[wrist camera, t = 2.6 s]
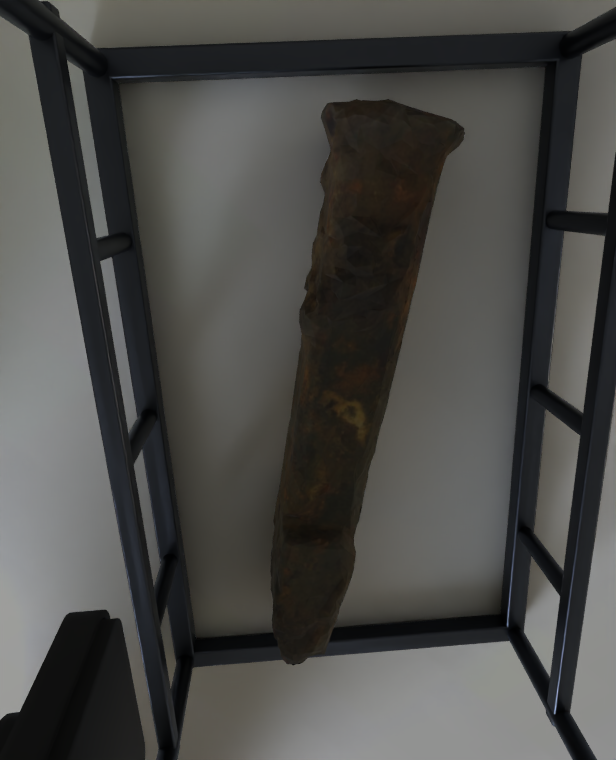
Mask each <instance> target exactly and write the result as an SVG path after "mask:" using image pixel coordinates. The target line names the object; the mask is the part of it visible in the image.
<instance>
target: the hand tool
mask: <svg viewBox="0 0 616 760" xmlns="http://www.w3.org/2000/svg"><path fill="white" fill-rule="evenodd" d="M321 119H322V122H323V125H324V128H325V131H326V134H327V138H328V141H329V144H330V148H331V152H330V155H329V157H328V159H327V161H326V163H325V166H324V168H323V171H322V173H321V181H320V183H321V185H322V187H323V190H324V192H325V197H324V203H323V207H322V209H321V212H320V218H319V223H318V229H317V236H316V238H315V240H314V242H313V249H312V268H311V270H310V272H309V274H308V275H307V278H306V283H305V287H304V289H306V290H307V291H308V292H307V294H306V297H305V300H304V302H303V304H302V306H301V308H300V311H299V323H300V328H301V333H302V335H301V349H300V353H299V360H298V368H297V374H296V381H295V389H294V396H293V403H292V410H291V418H290V422H289V427H288V433H287V440H286V446H285V453H284V461H283V467H282V474H281V483H280V489H279V492H278V496H277V502H276V508H275V515H274V526H275V527H274V535H273V547H272V552H271V577H272V578H271V591H272V597H273V615H272V626H273V633H274V637H275V639H276V640H277V642H278V648H279V649H280V654H281V657H282V659H283V660H284V661H285V662H286V664H292V665H295V664H301V663H302V662H304V661H305V660H306V659H307V658H309V657H310V656H313V655H317V654H323V655H324V654H325V651H326V648H327V645H328V642H329V639H330V636H331V633H332V630H333V628H334V625H335V623H336V620H337V617H338V614H339V608H340V606H341V603H342V601H343V599H344V596H345V594H346V591H347V589H348V586H349V583H350V580H351V578H352V574H353V570H354V563H355V555H356V551H355V547H354V534H355V531H356V527H357V524H358V522H359V518H360V513H361V508H362V502H363V497H364V492H365V488H366V483H367V479H368V471H369V467H370V464H371V461H372V459H373V456H374V453H375V449H376V444H377V439H378V435H379V430H380V426H381V423H382V421H383V418H384V414H385V410H386V407H387V403H388V398H389V394H390V389H391V385H392V381H393V377H394V373H395V368H396V364H397V360H398V356H399V352H400V348H401V344H402V339H403V335H404V331H405V327H406V323H407V318H408V314H409V309H410V305H411V301H412V297H413V293H414V290H415V286H416V282H417V277H418V273H419V268H420V263H421V258H422V253H423V248H424V243H425V239H426V234H427V229H428V224H429V220H430V216H431V211H432V207H433V204H434V200H435V195H436V190H437V186H438V183H439V179H440V176H441V172H442V169H443V165H444V162H445V159H446V157H447V155H448V154H450V153H451V152H452V151H453V150H455V149H456V148H457V147H458V146H459V145H460V144H461V142H462V141H463V140H464V135H465V132H464V128H463V127H462V126H460V125H459V124H458V123H457V122H456V121H453V120H452V119H449V118H445V117H442V116H438V115H435V114H432V113H428V112H425V111H421V110H418V109H415V108H412V107H409V106H406V105H403V104H400V103H397V102H395V101H392V100H389V99H387V100H380V101H368V100H362V101H360V100H357V99H356V100H353V101H350V102H333V103H328V104H327V105H326V106H325V108H324V109H323V111H322V115H321Z"/></svg>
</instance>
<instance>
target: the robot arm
mask: <svg viewBox="0 0 616 760" xmlns="http://www.w3.org/2000/svg"><path fill="white" fill-rule="evenodd" d="M0 760H145V742H144V736H143V731H142V726H141V720H140V715H139V710H138V705H137V699H136V694H135V689H134V684H133V679H132V673H131V668H130V663H129V658H128V653H127V647H126V642H125V637H124V632H123V626H122V623H121V620H120V619H119V618H115V619H110V615H109V613H108V611H107V610H95V611H84V612H73V613H69V614H67V615H66V616H65V618H64V620H63V622H62V624H61V626H60V628H59V630H58V632H57V634H56V636H55V639H54V641H53V643H52V645H51V647H50V649H49V651H48V653H47V655H46V658H45V660H44V662H43V664H42V666H41V668H40V670H39V672H38V675H37V677H36V679H35V681H34V683H33V685H32V687H31V689H30V691H29V694H28V696H27V698H26V700H25V702H24V704H23V706H22V708H21V711H20V712H16V713H10V714H6V715H5V716H4V717H3V718H2V719H1V720H0Z"/></svg>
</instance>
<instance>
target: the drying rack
mask: <svg viewBox="0 0 616 760" xmlns="http://www.w3.org/2000/svg"><path fill="white" fill-rule="evenodd" d="M0 16H1V17H2V18H4V19H5V20H7V21H9V22H10V23H12V24H13V25H15V26H16V27H18V28H19V29H21V30H22V31H24V32H25V33H27V34H28V35H29V41H30V46H31V52H32V57H33V63H34V68H35V73H36V79H37V84H38V90H39V95H40V101H41V106H42V112H43V117H44V123H45V128H46V134H47V139H48V145H49V150H50V156H51V161H52V167H53V172H54V178H55V183H56V189H57V194H58V200H59V205H60V211H61V216H62V221H63V227H64V232H65V238H66V243H67V249H68V254H69V260H70V265H71V271H72V276H73V282H74V287H75V293H76V298H77V304H78V309H79V315H80V320H81V326H82V331H83V337H84V342H85V348H86V353H87V359H88V364H89V369H90V375H91V380H92V386H93V391H94V397H95V402H96V408H97V413H98V419H99V424H100V430H101V435H102V441H103V446H104V452H105V457H106V463H107V468H108V474H109V479H110V485H111V490H112V496H113V501H114V507H115V512H116V517H117V523H118V528H119V534H120V539H121V545H122V550H123V556H124V561H125V567H126V572H127V578H128V583H129V589H130V594H131V600H132V605H133V611H134V616H135V622H136V627H137V633H138V638H139V644H140V649H141V655H142V660H143V665H144V671H145V676H146V682H147V687H148V693H149V698H150V704H151V709H152V715H153V720H154V726H155V731H156V737H157V742H158V748H159V749H158V753H157V758H156V760H177V759H178V755H179V749H180V740H181V734H182V728H183V722H184V716H185V710H186V705H187V699H188V693H189V687H190V681H191V675H192V669H193V668H195V667H203V666H215V665H227V664H239V663H251V662H263V661H275V660H283V659H282V657H281V654H280V649H279V648H278V642H277V640H276V639H275V637H274V633H268V634H256V635H244V636H232V637H219V638H207V639H196V634H195V627H194V620H193V613H192V606H191V598H190V591H189V584H188V577H187V570H186V563H185V556H184V548H183V541H182V534H181V527H180V520H179V513H178V506H177V498H176V491H175V484H174V477H173V470H172V463H171V456H170V448H169V441H168V434H167V427H166V420H165V413H164V406H163V398H162V391H161V384H160V377H159V370H158V363H157V356H156V348H155V341H154V334H153V327H152V320H151V313H150V306H149V298H148V291H147V284H146V277H145V270H144V263H143V256H142V248H141V241H140V234H139V227H138V220H137V213H136V206H135V198H134V191H133V184H132V177H131V170H130V163H129V156H128V148H127V141H126V134H125V127H124V120H123V113H122V106H121V98H120V91H119V84H118V83H142V82H167V81H192V80H218V79H243V78H269V77H294V76H320V75H345V74H371V73H396V72H422V71H447V70H473V69H498V68H524V67H546V69H545V81H544V93H543V105H542V118H541V130H540V142H539V154H538V166H537V178H536V190H535V202H534V214H533V226H532V238H531V250H530V262H529V274H528V286H527V299H526V311H525V323H524V335H523V347H522V359H521V371H520V383H519V395H518V407H517V419H516V431H515V443H514V455H513V467H512V480H511V492H510V504H509V516H508V528H507V540H506V552H505V564H504V576H503V588H502V600H501V612H500V615H489V616H477V617H464V618H452V619H440V620H428V621H415V622H403V623H391V624H379V625H366V626H354V627H342V628H333V630H332V633H331V636H330V639H329V642H328V645H327V648H326V651H325V654H324V655H323V654H317V655H313V656H310V657H309V658H311V657H322V656H334V655H346V654H358V653H370V652H382V651H394V650H406V649H418V648H430V647H442V646H454V645H466V644H478V643H490V642H502V641H510V642H511V644H512V646H513V648H514V650H515V652H516V654H517V656H518V658H519V659H520V661H521V663H522V665H523V667H524V669H525V671H526V673H527V674H528V676H529V678H530V680H531V682H532V684H533V686H534V688H535V690H536V691H537V693H538V695H539V697H540V699H541V701H542V703H543V705H544V707H545V708H546V714H547V716H548V718H549V720H550V722H551V724H552V725H553V726H555V727H556V729H557V731H558V733H559V735H560V737H561V739H562V740H563V742H564V744H565V746H566V748H567V750H568V752H569V754H570V756H571V757H572V759H573V760H597V759H596V757H595V755H594V754H593V752H592V750H591V749H590V747H589V745H588V743H587V742H586V740H585V738H584V736H583V735H582V733H581V731H580V729H579V728H578V726H577V724H576V722H575V721H574V719H573V717H572V715H571V714H570V709H571V702H572V695H573V688H574V681H575V674H576V667H577V660H578V653H579V646H580V639H581V632H582V625H583V618H584V611H585V604H586V597H587V590H588V583H589V577H590V570H591V563H592V556H593V549H594V542H595V535H596V528H597V521H598V514H599V507H600V500H601V493H602V486H603V479H604V472H605V465H606V458H607V451H608V444H609V437H610V430H611V423H612V416H613V409H614V402H615V395H616V154H615V162H614V170H613V178H612V186H611V194H610V202H609V210H608V213H596V212H577V211H566V208H567V198H568V188H569V178H570V168H571V158H572V148H573V139H574V129H575V119H576V109H577V99H578V89H579V79H580V69H581V59H582V54H584V53H586V52H588V51H590V50H592V49H595V48H597V47H599V46H601V45H603V44H606V43H608V42H610V41H612V40H614V39H616V7H615V8H613V9H611V10H609V11H608V12H606V13H604V14H602V15H600V16H598V17H597V18H595V19H593V20H591V21H589V22H588V23H586V24H584V25H582V26H580V27H579V28H577V29H575V30H573V31H556V32H528V33H501V34H473V35H446V36H419V37H391V38H364V39H337V40H309V41H282V42H255V43H227V44H200V45H172V46H145V47H118V48H95V47H94V46H93V45H92V44H91V43H89V42H88V41H87V40H86V39H85V38H83V37H82V36H81V35H80V34H79V33H77V32H76V31H75V30H74V29H73V28H71V27H70V26H69V25H68V24H67V23H65V22H64V21H63V20H62V19H61V18H60V15H59V11H58V9H57V8H56V7H55V6H54V5H52V4H51V3H50V2H48V1H39V0H0ZM67 60H68V61H69V62H71V63H72V64H74V65H75V66H77V67H78V68H80V69H82V70H83V75H84V81H85V88H86V94H87V101H88V107H89V113H90V120H91V126H92V132H93V139H94V145H95V151H96V158H97V164H98V170H99V177H100V183H101V189H102V196H103V202H104V208H105V215H106V221H107V227H108V234H109V235H107V236H103V237H99V238H96V234H95V228H94V221H93V215H92V209H91V203H90V197H89V191H88V185H87V179H86V173H85V167H84V161H83V155H82V149H81V143H80V137H79V131H78V124H77V118H76V112H75V106H74V100H73V94H72V88H71V82H70V76H69V70H68V64H67ZM564 231H569V232H578V233H586V234H594V235H603V236H605V242H604V250H603V258H602V266H601V274H600V282H599V290H598V298H597V306H596V314H595V322H594V330H593V338H592V346H591V354H590V363H589V371H588V379H587V387H586V395H585V403H584V411H583V413H582V412H581V411H579V410H578V409H576V408H575V407H574V406H572V405H571V404H569V403H568V402H567V401H565V400H564V399H562V398H561V397H559V396H558V395H557V394H555V393H554V392H552V391H551V390H549V389H548V386H549V376H550V366H551V356H552V346H553V336H554V327H555V317H556V307H557V297H558V287H559V277H560V267H561V257H562V247H563V238H564ZM110 257H112V259H113V266H114V272H115V278H116V285H117V291H118V297H119V304H120V310H121V316H122V323H123V329H124V335H125V342H126V348H127V354H128V361H129V367H130V373H131V380H132V386H133V392H134V399H135V405H136V411H137V418H138V419H137V420H136V422H135V423H134V425H133V427H132V428H131V430H130V432H129V433H128V428H127V422H126V415H125V409H124V403H123V397H122V391H121V385H120V379H119V373H118V367H117V361H116V355H115V349H114V343H113V337H112V331H111V325H110V318H109V312H108V306H107V300H106V294H105V288H104V282H103V276H102V270H101V264H100V261H102V260H105V259H107V258H110ZM546 409H547V410H548V411H549V412H551V413H552V414H553V415H554V416H556V417H557V418H558V419H560V420H561V421H562V422H563V423H565V424H566V425H567V426H569V427H570V428H571V429H572V430H574V431H575V432H576V433H577V434H579V435H580V443H579V451H578V459H577V467H576V475H575V483H574V491H573V499H572V507H571V515H570V523H569V531H568V539H567V547H566V555H565V563H564V571H563V570H562V569H561V567H560V566H559V565H558V564H557V562H556V561H555V560H554V558H553V557H552V556H551V554H550V553H549V552H548V551H547V549H546V548H545V547H544V545H543V544H542V543H541V542H540V540H539V539H538V538H537V536H536V535H535V534H534V525H535V515H536V505H537V495H538V485H539V475H540V465H541V455H542V445H543V435H544V426H545V416H546ZM141 450H143V456H144V462H145V469H146V475H147V481H148V488H149V494H150V500H151V507H152V513H153V519H154V526H155V532H156V538H157V545H158V551H159V557H160V564H161V565H160V568H159V572H158V575H157V578H156V581H155V585H153V579H152V573H151V567H150V561H149V555H148V549H147V543H146V537H145V531H144V525H143V519H142V512H141V506H140V500H139V494H138V488H137V482H136V476H135V470H134V463H135V461H136V459H137V457H138V455H139V453H140V452H141ZM531 556H532V557H533V559H534V560H535V562H536V563H537V564H538V566H539V567H540V569H541V570H542V571H543V573H544V574H545V576H546V577H547V578H548V580H549V581H550V583H551V584H552V585H553V587H554V588H555V590H556V591H557V592H558V594H559V595H560V603H559V611H558V619H557V627H556V635H555V643H554V651H553V659H552V667H551V675H550V677H549V675H548V674H547V672H546V670H545V668H544V667H543V665H542V663H541V661H540V660H539V658H538V656H537V654H536V653H535V651H534V649H533V647H532V646H531V644H530V642H529V640H528V639H527V637H526V635H525V633H524V623H525V614H526V604H527V594H528V584H529V574H530V564H531ZM166 605H167V608H168V615H169V621H170V627H171V634H172V640H173V646H174V653H175V659H176V667H175V672H174V676H173V681H172V686H171V688H170V682H169V676H168V670H167V664H166V658H165V652H164V646H163V640H162V634H161V624H162V621H163V617H164V613H165V609H166Z"/></svg>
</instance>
